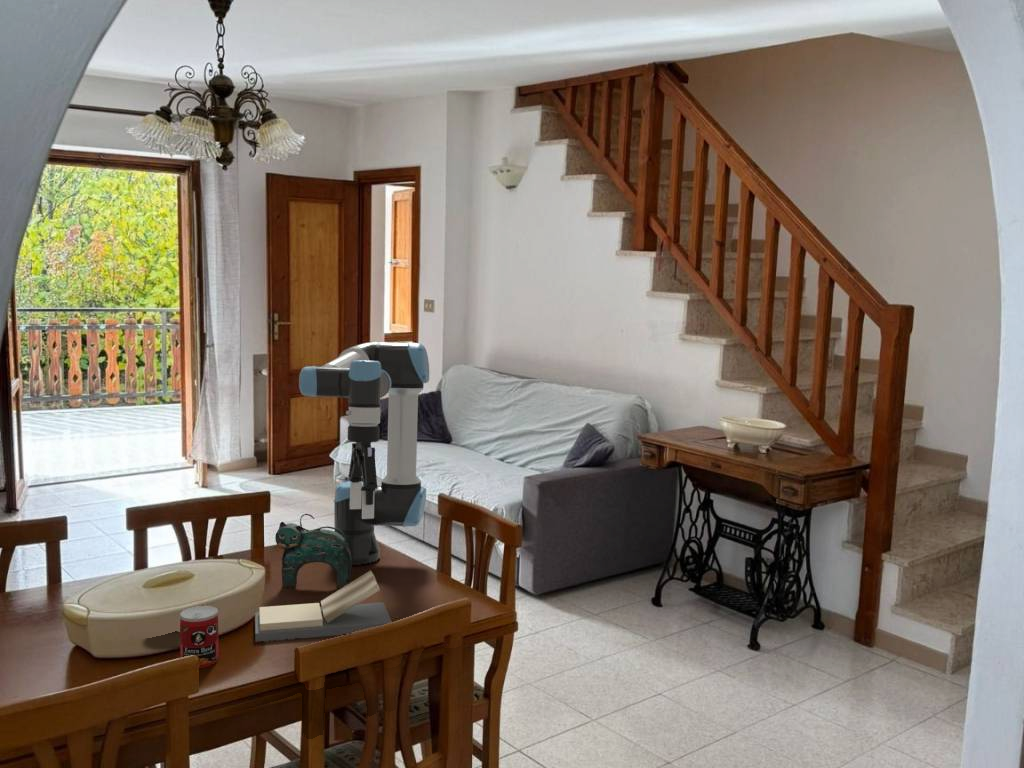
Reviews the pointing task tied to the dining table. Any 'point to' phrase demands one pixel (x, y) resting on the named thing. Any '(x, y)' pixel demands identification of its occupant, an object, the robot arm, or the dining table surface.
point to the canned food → (199, 634)
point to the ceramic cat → (312, 551)
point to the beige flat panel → (349, 596)
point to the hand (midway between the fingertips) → (361, 513)
